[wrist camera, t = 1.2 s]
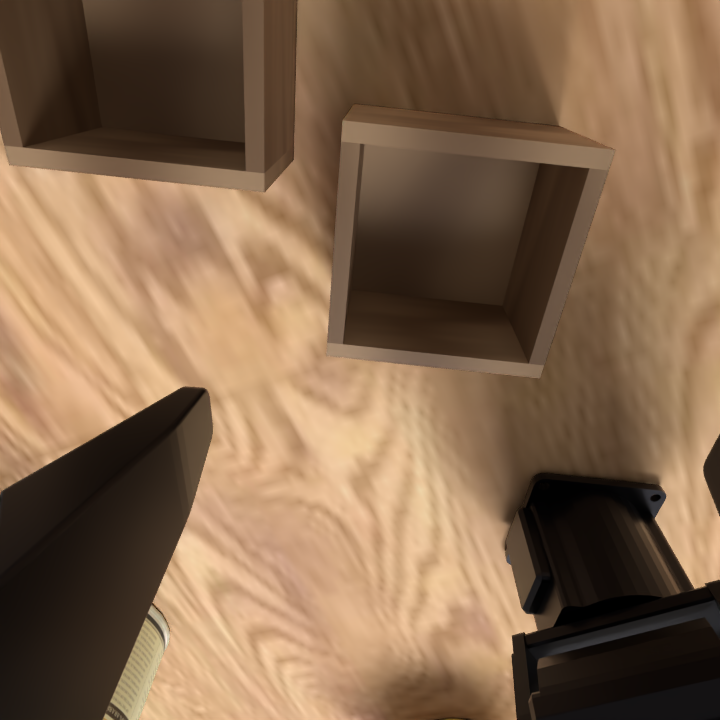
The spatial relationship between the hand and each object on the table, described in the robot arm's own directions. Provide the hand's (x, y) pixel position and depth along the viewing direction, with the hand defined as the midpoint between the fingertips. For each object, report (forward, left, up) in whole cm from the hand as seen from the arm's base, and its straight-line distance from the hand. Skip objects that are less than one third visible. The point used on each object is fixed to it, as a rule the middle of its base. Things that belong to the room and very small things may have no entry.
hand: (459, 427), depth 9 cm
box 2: (-1, 0, -12) cm, 12 cm away
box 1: (+8, -5, -12) cm, 16 cm away
